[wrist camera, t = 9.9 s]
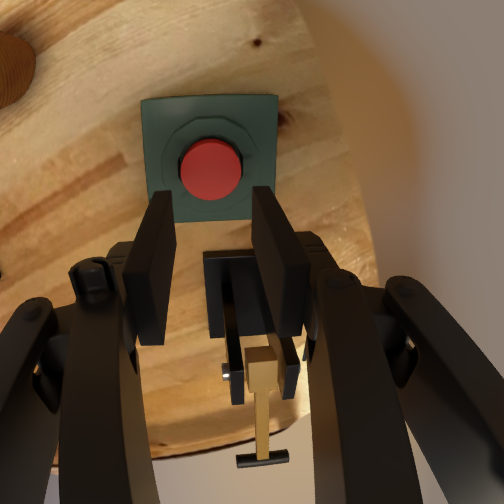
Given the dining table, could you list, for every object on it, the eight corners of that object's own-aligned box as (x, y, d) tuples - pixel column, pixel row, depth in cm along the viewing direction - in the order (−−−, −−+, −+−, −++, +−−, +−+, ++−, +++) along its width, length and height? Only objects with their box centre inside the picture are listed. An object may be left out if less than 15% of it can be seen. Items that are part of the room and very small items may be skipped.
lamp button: (238, 137, 21) (241, 141, 20) (238, 190, 23) (241, 199, 22) (180, 139, 21) (178, 144, 20) (184, 193, 23) (182, 202, 22)
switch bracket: (281, 325, 36) (307, 413, 26) (209, 331, 35) (215, 423, 25) (288, 247, 31) (327, 334, 21) (203, 251, 30) (204, 345, 20)
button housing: (272, 93, 23) (284, 96, 20) (269, 208, 28) (278, 228, 25) (145, 98, 22) (134, 102, 19) (155, 214, 27) (147, 234, 24)
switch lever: (285, 452, 28) (290, 468, 26) (235, 457, 27) (238, 474, 25) (289, 343, 25) (296, 358, 23) (226, 348, 25) (228, 364, 22)
